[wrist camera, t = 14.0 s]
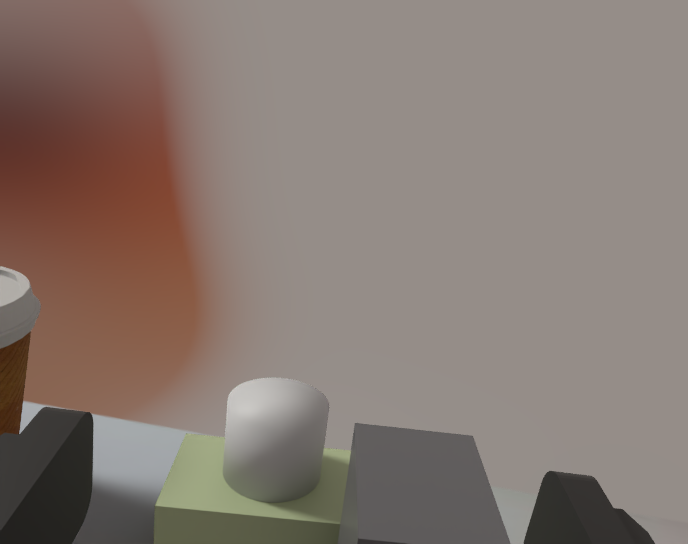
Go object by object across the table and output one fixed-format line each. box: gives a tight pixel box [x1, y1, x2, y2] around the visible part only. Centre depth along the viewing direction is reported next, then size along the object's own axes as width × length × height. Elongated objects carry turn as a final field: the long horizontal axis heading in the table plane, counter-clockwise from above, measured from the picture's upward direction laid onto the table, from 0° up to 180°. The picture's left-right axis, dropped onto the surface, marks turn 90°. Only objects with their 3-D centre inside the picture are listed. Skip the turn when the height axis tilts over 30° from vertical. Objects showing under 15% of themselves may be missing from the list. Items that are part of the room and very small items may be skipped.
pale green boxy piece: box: [154, 378, 351, 544], centre depth 28 cm, size 16×14×9 cm
